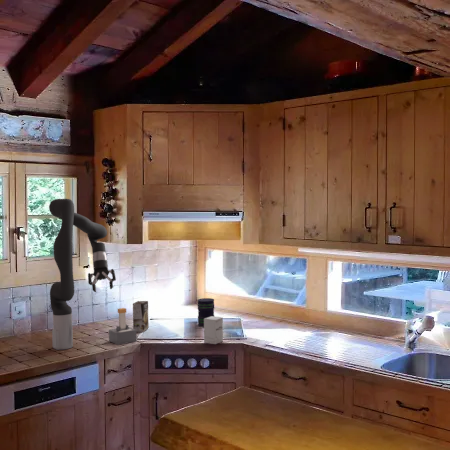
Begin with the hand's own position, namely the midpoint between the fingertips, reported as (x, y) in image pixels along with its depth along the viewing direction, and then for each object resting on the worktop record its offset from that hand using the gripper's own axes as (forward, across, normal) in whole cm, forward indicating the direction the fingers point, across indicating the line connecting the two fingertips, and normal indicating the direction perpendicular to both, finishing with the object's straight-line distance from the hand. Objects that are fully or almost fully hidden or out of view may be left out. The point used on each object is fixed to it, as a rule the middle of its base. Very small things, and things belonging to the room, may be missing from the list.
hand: (103, 290), depth 295 cm
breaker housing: (+27, +6, +8) cm, 29 cm away
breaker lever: (+20, +7, +5) cm, 22 cm away
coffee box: (+19, +13, +30) cm, 38 cm away
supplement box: (+37, +53, +5) cm, 65 cm away
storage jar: (+20, +50, +41) cm, 67 cm away
